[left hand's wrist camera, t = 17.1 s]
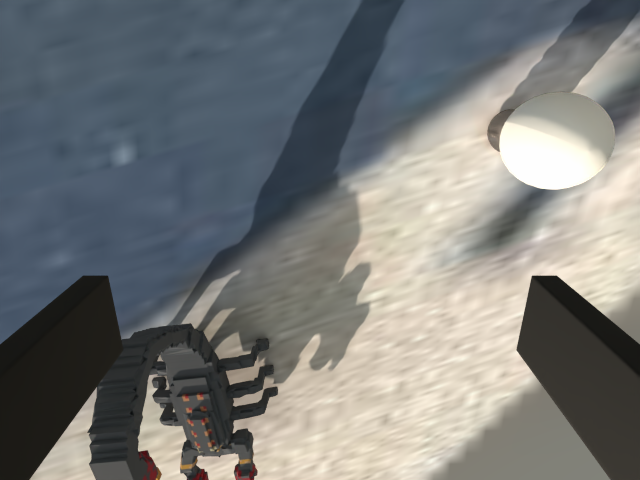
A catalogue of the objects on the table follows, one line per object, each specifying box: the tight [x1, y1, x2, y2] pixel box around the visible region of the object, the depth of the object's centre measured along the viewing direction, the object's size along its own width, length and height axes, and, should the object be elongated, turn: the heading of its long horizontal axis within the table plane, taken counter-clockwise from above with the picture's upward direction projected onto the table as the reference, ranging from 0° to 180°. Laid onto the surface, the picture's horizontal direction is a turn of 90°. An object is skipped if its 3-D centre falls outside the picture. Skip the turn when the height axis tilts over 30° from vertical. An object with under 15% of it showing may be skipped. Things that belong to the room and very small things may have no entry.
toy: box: [87, 324, 278, 480], centre depth 37 cm, size 13×27×18 cm, turn 7°
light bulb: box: [488, 92, 615, 189], centre depth 31 cm, size 7×7×11 cm
